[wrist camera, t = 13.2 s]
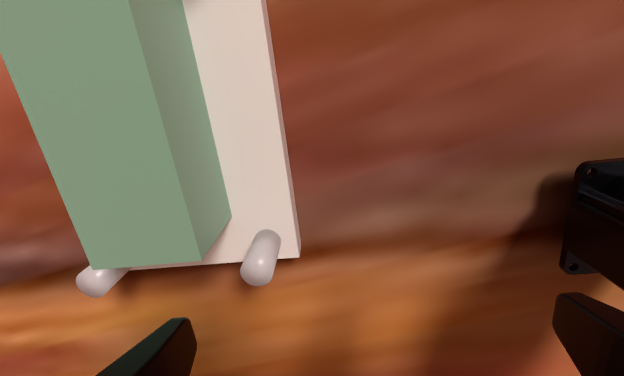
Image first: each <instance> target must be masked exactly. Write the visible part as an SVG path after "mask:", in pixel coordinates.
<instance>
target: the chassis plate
mask: <svg viewBox="0 0 624 376" xmlns="http://www.w3.org/2000/svg"><path fill="white" fill-rule="evenodd" d="M182 3H183V7H184V11H185V15H186V20H187V24H188V28H189V33H190V37H191V41H192V46H193V50H194V54H195V59H196V63H197V67H198V72H199V76H200V80H201V84H202V89H203V93H204V97H205V102H206V106H207V110H208V115H209V119H210V123H211V128H212V132H213V136H214V141H215V145H216V149H217V153H218V158H219V162H220V166H221V171H222V175H223V179H224V184H225V188H226V192H227V197H228V201H229V205H230V210H231V214H232V217H231V218H230V220H229V221H228V223H227V224H226V226H225V227H224V229H223V230H222V232H221V233H220V235H219V236H218V238H217V239H216V241H215V242H214V244H213V245H212V246H211V248H210V249H209V251H208V252H207V254H206V255H205V257H204V258H203V260H202V261H194V262H182V263H171V264H159V265H147V266H136V267H124V268H112V269H101V270H92V267H91V265H90V266H88V267H87V268H86V269H85V270H83V271H82V272H81V273H80V274H79V275H78V276H77V278H76V284H77V287H78V288H79V290H80V291H81V292H82V293H84V294H85V295H87V296H90V297H95V298H97V297H101V296H103V295H104V294H106V293H107V292H108V291H109V290H110V289H111V288H112V287H113V286H114V285H115V284H116V283H117V282H118V281H119V280H120V279H121V278H122V277H123V276H124V275H125V274H126V273H127V272H128V271H129V270H140V269H153V268H167V267H180V266H193V265H206V264H219V263H232V262H243V263H242V266H241V268H240V274H241V277H242V278H243V280H244V281H245V282H247V283H248V284H250V285H253V286H263V285H266V284H267V283H269V282H270V280H271V279H272V276H273V272H274V269H275V265H276V261H277V259H284V258H297V257H299V255H300V249H301V240H300V233H299V226H298V219H297V212H296V205H295V198H294V191H293V184H292V178H291V171H290V164H289V157H288V150H287V143H286V136H285V129H284V122H283V115H282V108H281V102H280V95H279V88H278V81H277V74H276V67H275V60H274V53H273V46H272V39H271V33H270V26H269V19H268V12H267V5H266V0H182Z"/></svg>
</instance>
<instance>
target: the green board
mask: <svg viewBox="0 0 624 376" xmlns="http://www.w3.org/2000/svg"><path fill="white" fill-rule="evenodd" d="M0 53H1V55H2V57H3V60H4V62H5V65H6V67H7V69H8V72H9V74H10V76H11V79H12V81H13V83H14V86H15V88H16V90H17V93H18V95H19V98H20V100H21V102H22V105H23V107H24V109H25V112H26V114H27V116H28V119H29V121H30V123H31V126H32V128H33V131H34V133H35V135H36V138H37V140H38V142H39V145H40V147H41V149H42V152H43V154H44V157H45V159H46V161H47V164H48V166H49V168H50V171H51V173H52V175H53V178H54V180H55V182H56V185H57V187H58V190H59V192H60V194H61V197H62V199H63V201H64V204H65V206H66V208H67V211H68V213H69V215H70V218H71V220H72V223H73V225H74V227H75V230H76V232H77V234H78V237H79V239H80V241H81V244H82V246H83V248H84V251H85V253H86V256H87V258H88V260H89V263H90V265H91V267H92V270H101V269H112V268H124V267H136V266H147V265H159V264H171V263H182V262H194V261H202V260H203V258H204V257H205V255H206V254H207V252H208V251H209V249H210V248H211V246H212V245H213V244H214V242H215V241H216V239H217V238H218V236H219V235H220V233H221V232H222V230H223V229H224V227H225V226H226V224H227V223H228V221H229V220H230V218H231V217H232V214H231V210H230V205H229V201H228V197H227V192H226V188H225V184H224V179H223V175H222V171H221V166H220V162H219V158H218V153H217V149H216V145H215V141H214V136H213V132H212V128H211V123H210V119H209V115H208V110H207V106H206V102H205V97H204V93H203V89H202V84H201V80H200V76H199V72H198V67H197V63H196V59H195V54H194V50H193V46H192V41H191V37H190V33H189V28H188V24H187V20H186V15H185V11H184V7H183V3H182V0H0Z"/></svg>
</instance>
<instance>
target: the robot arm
mask: <svg viewBox="0 0 624 376" xmlns="http://www.w3.org/2000/svg"><path fill="white" fill-rule="evenodd" d="M589 169H591V172H590V173H589V174H588V175H587V172H588V170H589ZM571 264H572V265H571ZM570 265H571V266H570ZM559 267H560V268H561V269H562V270H563V271H564V272H566V273H567V274H571V275H574V274H589V273H600V274H601V275H603V276H604V277H605V278H607V279H608V280H609V281H611V282H612V283H614V284H615V285H616V286H618V287H619V288H621V289H622V290H623V291H624V158H616V159H605V160H594V161H586V162H583V163H581V164H580V165H579V166H578V167H577V169H576V171H575V177H574V182H573V188H572V194H571V200H570V205H569V210H568V216H567V221H566V227H565V233H564V239H563V244H562V251H561V256H560V262H559ZM552 325H553V328H554V331H555V333H556V335H557V336H558V338H559V339H560V341H561V343H562V344H563V346H564V348H565V349H566V351H567V353H568V354H569V356H570V358H571V359H572V361H573V363H574V364H575V366H576V367H577V369H578V371H579V372H580V374H581V376H624V312H623V311H621V310H619V309H616V308H614V307H612V306H609V305H607V304H605V303H602V302H600V301H598V300H595V299H593V298H591V297H589V296H586V295H584V294H581V293H577V292H574V293H561V294H559V295H558V296H557V297H556V302H555V307H554V313H553V319H552ZM196 350H197V342H196V338H195V335H194V332H193V328H192V325H191V322H190V320H189V319H188V318H186V317H182V318H172V319H170V320H169V321H167V322H166V323H165V324H163V325H162V326H161V327H159V328H158V329H157V330H155V331H154V332H153V333H151V334H150V335H149V336H147V337H146V338H145V339H144V340H142V341H141V342H140V343H138V344H137V345H136V346H134V347H133V348H132V349H130V350H129V351H128V352H126V353H125V354H124V355H122V356H121V357H120V358H118V359H117V360H116V361H114V362H113V363H112V364H110V365H109V366H108V367H106V368H105V369H104V370H102V371H101V372H100V373H98V374H97V375H96V376H190V372H191V369H192V365H193V361H194V358H195V354H196Z"/></svg>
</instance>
